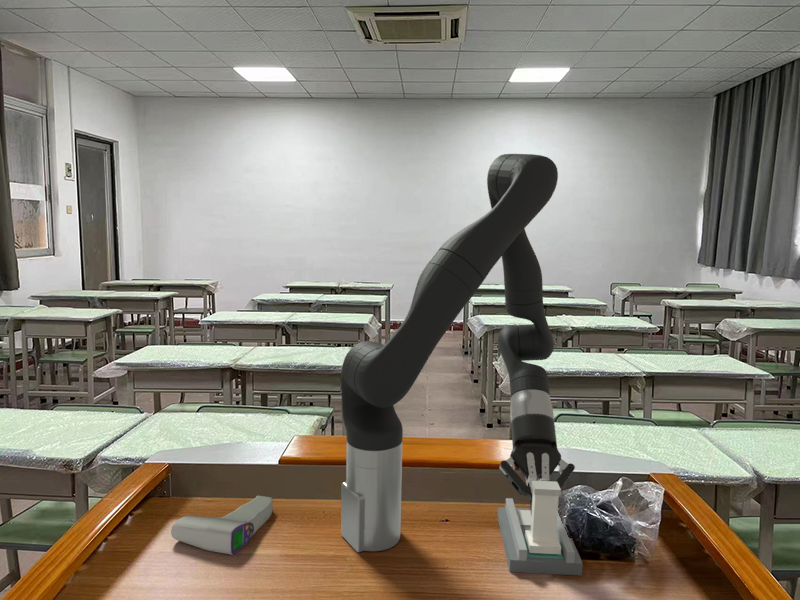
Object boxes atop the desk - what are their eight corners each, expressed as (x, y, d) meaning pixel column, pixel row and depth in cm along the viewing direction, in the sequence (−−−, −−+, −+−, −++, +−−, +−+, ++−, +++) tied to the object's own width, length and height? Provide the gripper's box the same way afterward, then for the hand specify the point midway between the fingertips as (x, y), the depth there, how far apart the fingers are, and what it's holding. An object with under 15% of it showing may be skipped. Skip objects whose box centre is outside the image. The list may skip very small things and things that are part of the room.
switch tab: (560, 554, 89) (564, 492, 88) (529, 552, 89) (533, 491, 88) (554, 538, 94) (558, 479, 92) (524, 537, 94) (528, 478, 92)
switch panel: (581, 575, 88) (583, 552, 88) (509, 571, 89) (510, 549, 88) (558, 520, 104) (560, 500, 104) (497, 517, 105) (498, 497, 104)
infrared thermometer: (278, 517, 105) (235, 559, 91) (218, 508, 108) (168, 547, 94) (278, 493, 105) (235, 531, 90) (218, 484, 108) (168, 520, 93)
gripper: (497, 410, 100) (502, 512, 90) (574, 413, 99) (588, 516, 89) (492, 428, 106) (497, 525, 96) (565, 431, 105) (577, 529, 95)
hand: (541, 521), depth 93 cm, fingers closed
